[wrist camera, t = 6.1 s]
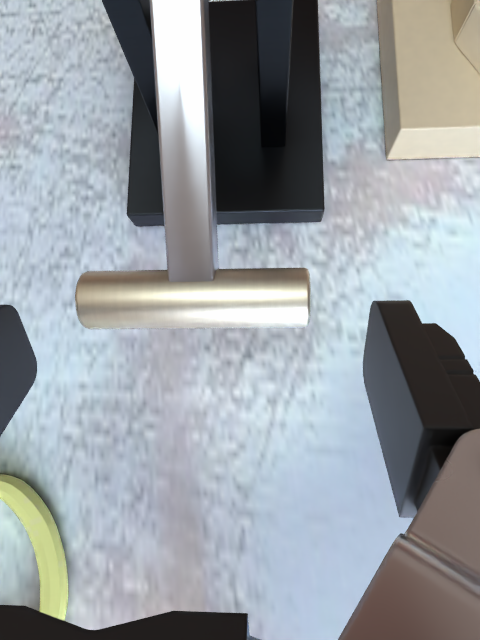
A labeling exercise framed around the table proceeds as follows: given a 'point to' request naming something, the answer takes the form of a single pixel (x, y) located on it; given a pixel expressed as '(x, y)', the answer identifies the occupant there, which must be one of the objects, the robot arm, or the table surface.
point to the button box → (430, 77)
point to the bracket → (238, 111)
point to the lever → (190, 211)
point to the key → (40, 543)
